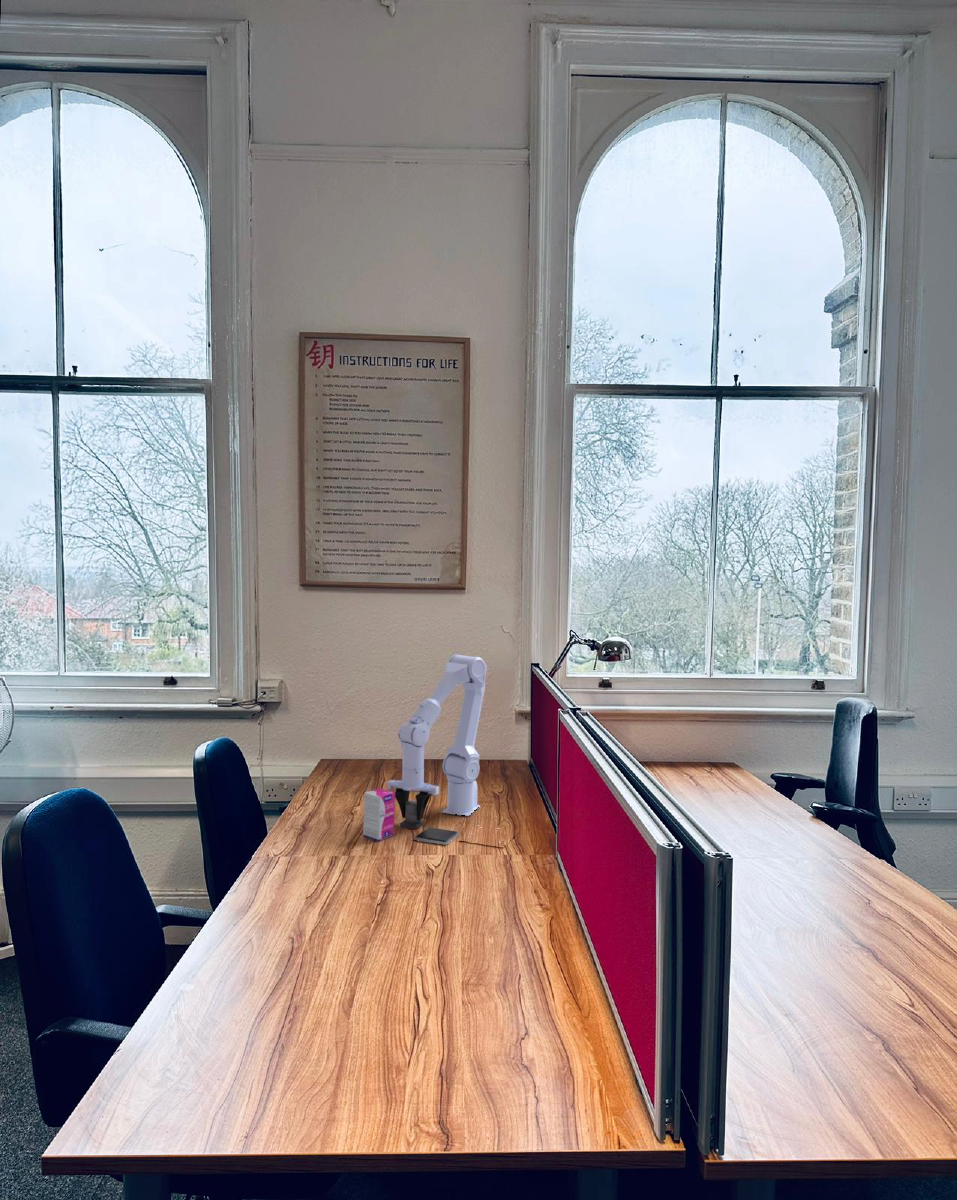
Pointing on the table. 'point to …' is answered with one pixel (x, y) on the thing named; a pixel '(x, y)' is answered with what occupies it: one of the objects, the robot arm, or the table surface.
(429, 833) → the ink pad
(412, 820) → the stamp
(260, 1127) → the table surface
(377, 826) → the supplement box
